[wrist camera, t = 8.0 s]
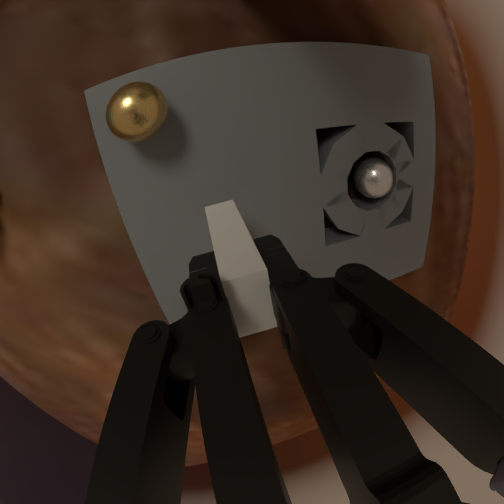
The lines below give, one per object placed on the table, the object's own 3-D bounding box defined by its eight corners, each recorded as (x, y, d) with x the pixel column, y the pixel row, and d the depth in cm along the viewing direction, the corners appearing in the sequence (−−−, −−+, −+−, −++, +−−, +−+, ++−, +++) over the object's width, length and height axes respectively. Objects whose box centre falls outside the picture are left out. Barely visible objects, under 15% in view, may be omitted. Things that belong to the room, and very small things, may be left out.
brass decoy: (109, 95, 12) (90, 92, 9) (163, 77, 12) (157, 69, 10) (122, 146, 14) (107, 155, 11) (175, 129, 14) (172, 133, 11)
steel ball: (386, 167, 16) (399, 157, 18) (345, 159, 18) (363, 149, 20) (383, 209, 18) (397, 194, 20) (345, 198, 20) (362, 185, 22)
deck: (180, 325, 24) (180, 345, 22) (97, 92, 13) (84, 90, 11) (408, 254, 26) (422, 266, 24) (408, 55, 16) (428, 54, 14)
